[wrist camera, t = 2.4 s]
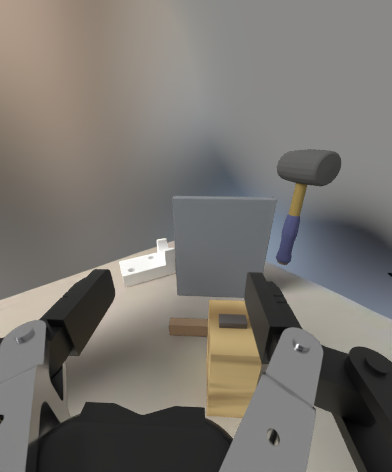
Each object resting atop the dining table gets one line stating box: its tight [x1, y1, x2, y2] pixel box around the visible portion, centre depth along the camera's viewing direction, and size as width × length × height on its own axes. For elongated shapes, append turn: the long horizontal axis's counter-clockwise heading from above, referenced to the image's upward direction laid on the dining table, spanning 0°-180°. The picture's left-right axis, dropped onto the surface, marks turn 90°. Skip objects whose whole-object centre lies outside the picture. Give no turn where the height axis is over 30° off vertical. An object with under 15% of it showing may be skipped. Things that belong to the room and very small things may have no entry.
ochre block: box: [207, 300, 262, 418], centre depth 23 cm, size 7×5×13 cm
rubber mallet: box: [276, 149, 341, 265], centre depth 47 cm, size 12×8×30 cm, turn 15°
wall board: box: [169, 196, 277, 337], centre depth 32 cm, size 12×18×22 cm, turn 87°
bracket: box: [119, 238, 176, 288], centre depth 47 cm, size 13×7×8 cm, turn 117°
